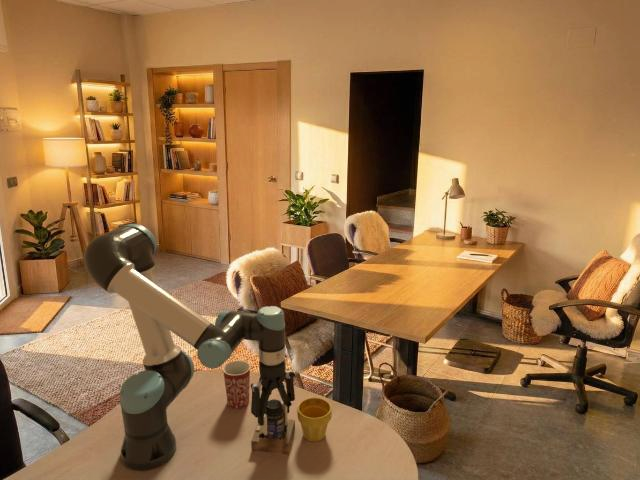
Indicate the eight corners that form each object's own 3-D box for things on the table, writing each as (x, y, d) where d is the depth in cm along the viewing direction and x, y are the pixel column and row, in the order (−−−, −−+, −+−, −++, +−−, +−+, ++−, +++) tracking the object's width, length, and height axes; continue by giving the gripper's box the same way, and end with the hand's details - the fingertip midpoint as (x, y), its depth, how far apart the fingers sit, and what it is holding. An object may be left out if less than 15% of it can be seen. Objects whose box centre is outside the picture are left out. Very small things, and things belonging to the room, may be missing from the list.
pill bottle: (280, 444, 143) (280, 411, 140) (261, 440, 145) (260, 408, 141) (287, 430, 149) (286, 399, 146) (268, 427, 150) (267, 396, 147)
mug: (249, 411, 161) (248, 375, 157) (222, 410, 161) (220, 374, 157) (255, 388, 173) (253, 354, 169) (229, 388, 173) (227, 354, 169)
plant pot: (327, 448, 144) (328, 420, 141) (293, 443, 146) (293, 415, 143) (333, 425, 154) (334, 399, 151) (302, 421, 156) (301, 395, 153)
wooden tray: (251, 451, 143) (251, 440, 142) (260, 426, 153) (260, 416, 152) (288, 454, 142) (288, 443, 140) (295, 429, 152) (294, 419, 151)
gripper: (249, 377, 131) (252, 448, 138) (307, 354, 142) (307, 421, 149) (235, 365, 136) (239, 434, 143) (292, 344, 148) (293, 409, 155)
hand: (274, 427), depth 146 cm, fingers open, 6 cm apart
